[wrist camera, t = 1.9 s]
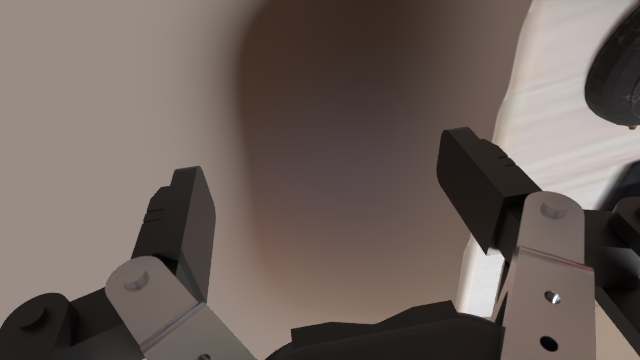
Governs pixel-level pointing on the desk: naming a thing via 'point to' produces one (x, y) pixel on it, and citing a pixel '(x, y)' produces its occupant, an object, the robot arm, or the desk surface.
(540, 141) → the desk surface
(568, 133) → the desk surface
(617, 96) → the banker's lamp
